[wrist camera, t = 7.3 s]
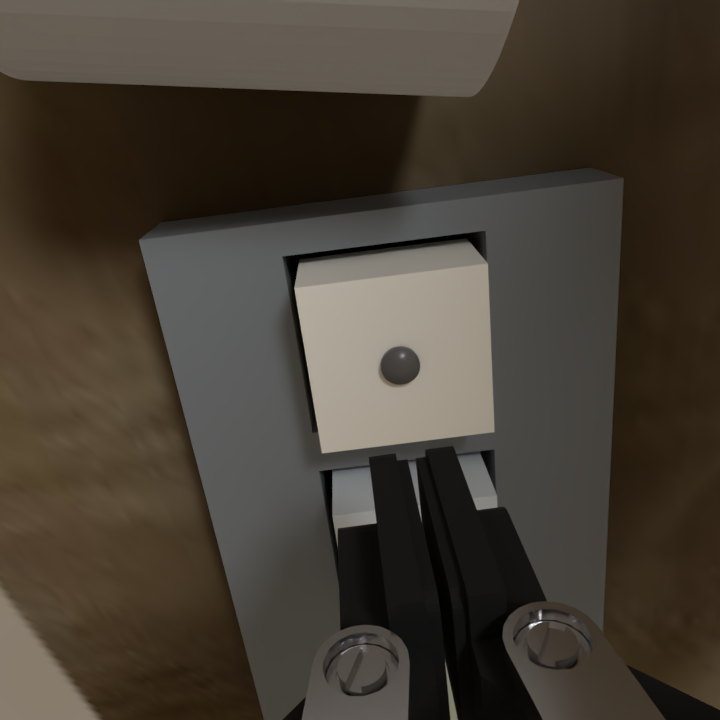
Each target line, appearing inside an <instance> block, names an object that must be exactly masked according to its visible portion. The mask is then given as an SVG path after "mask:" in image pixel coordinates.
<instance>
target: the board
mask: <svg viewBox="0 0 720 720" xmlns="http://www.w3.org/2000/svg"><path fill="white" fill-rule="evenodd" d="M623 185H624V178H622V177H619V176H616V175H613V174H610V173H607V172H604V171H601V170H598V169H595V168H592V167H589V168H581V169H574V170H566V171H558V172H550V173H542V174H535V175H527V176H519V177H511V178H503V179H496V180H488V181H480V182H472V183H464V184H457V185H449V186H441V187H433V188H425V189H418V190H410V191H402V192H394V193H386V194H379V195H371V196H363V197H355V198H347V199H340V200H332V201H324V202H316V203H308V204H301V205H293V206H285V207H277V208H269V209H262V210H254V211H246V212H238V213H230V214H223V215H215V216H207V217H199V218H191V219H183V220H176V221H168V222H160V223H159V224H158V225H156V226H155V227H154V228H153V229H152V230H150V231H149V232H148V233H147V234H146V235H144V236H143V237H142V238H141V239H140V240H139V244H140V247H141V251H142V255H143V259H144V263H145V267H146V270H147V274H148V278H149V282H150V286H151V290H152V293H153V297H154V301H155V305H156V309H157V313H158V316H159V320H160V324H161V328H162V332H163V335H164V339H165V343H166V347H167V351H168V355H169V358H170V362H171V366H172V370H173V374H174V378H175V381H176V385H177V389H178V393H179V397H180V401H181V404H182V408H183V412H184V416H185V420H186V423H187V427H188V431H189V435H190V439H191V443H192V446H193V450H194V454H195V458H196V462H197V466H198V469H199V473H200V477H201V481H202V485H203V489H204V492H205V496H206V500H207V504H208V508H209V511H210V515H211V519H212V523H213V527H214V531H215V534H216V538H217V542H218V546H219V550H220V554H221V557H222V561H223V565H224V569H225V573H226V577H227V580H228V584H229V588H230V592H231V596H232V600H233V603H234V607H235V611H236V615H237V619H238V622H239V626H240V630H241V634H242V638H243V642H244V645H245V649H246V653H247V657H248V661H249V665H250V668H251V672H252V676H253V680H254V684H255V688H256V691H257V695H258V699H259V703H260V707H261V710H262V714H263V718H264V720H283V719H284V718H285V717H286V716H287V715H288V714H289V713H290V712H291V711H292V710H293V709H294V708H295V707H296V706H297V705H298V704H299V703H300V702H301V701H302V700H303V699H304V698H305V697H306V695H307V690H308V685H309V680H310V675H311V670H312V665H313V661H314V659H315V656H316V653H317V651H318V650H319V648H320V647H321V646H322V645H323V643H324V642H325V641H326V640H327V639H328V638H330V637H331V636H333V635H334V634H335V633H337V632H339V631H340V601H339V567H338V546H337V540H336V535H335V529H334V523H333V517H332V501H331V495H330V489H329V483H328V477H327V471H326V470H332V469H340V468H348V467H356V466H364V465H370V464H369V457H371V456H378V455H386V454H394V453H396V457H397V460H404V459H407V460H412V459H416V458H420V457H425V450H426V449H432V448H439V447H447V446H453V447H454V449H455V451H456V454H461V453H469V452H477V451H481V456H482V459H483V461H484V464H485V466H486V469H487V471H488V474H489V477H490V479H491V482H492V484H493V487H494V489H495V492H496V494H497V507H505V508H506V509H507V511H508V513H509V515H510V517H511V520H512V522H513V524H514V527H515V529H516V531H517V533H518V536H519V538H520V540H521V543H522V545H523V547H524V549H525V552H526V554H527V556H528V559H529V561H530V563H531V565H532V568H533V570H534V572H535V575H536V577H537V579H538V581H539V584H540V586H541V588H542V591H543V593H544V595H545V597H546V600H547V601H548V602H558V603H562V604H565V605H568V606H571V607H574V608H576V609H578V610H579V611H581V612H583V613H584V614H586V615H588V616H589V617H590V618H591V620H592V621H593V622H594V623H595V624H596V625H597V626H598V627H599V628H600V630H601V631H602V633H603V620H604V598H605V576H606V555H607V533H608V511H609V489H610V468H611V446H612V424H613V403H614V381H615V359H616V337H617V316H618V294H619V272H620V251H621V229H622V207H623ZM463 233H470V243H471V244H472V245H473V247H474V248H475V249H476V250H477V251H478V252H479V254H480V255H481V256H482V257H483V258H484V260H485V261H486V262H487V263H488V278H489V304H490V329H491V355H492V380H493V406H494V431H495V432H492V433H484V434H475V435H467V436H459V437H451V438H443V439H435V440H427V441H419V442H411V443H403V444H395V445H387V446H379V447H371V448H362V449H354V450H346V451H338V452H330V453H322V451H321V445H320V439H319V433H318V427H317V421H316V415H315V409H314V403H313V397H312V391H311V385H310V379H309V373H308V367H307V361H306V355H305V349H304V343H303V337H302V331H301V325H300V319H299V313H298V307H297V301H296V295H295V289H294V287H295V279H294V273H293V267H292V261H291V255H298V254H306V253H314V252H322V251H330V250H337V249H345V248H353V247H361V246H369V245H377V244H385V243H392V242H400V241H408V240H416V239H424V238H432V237H440V236H447V235H455V234H463Z"/></svg>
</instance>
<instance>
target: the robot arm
mask: <svg viewBox="0 0 720 720" xmlns="http://www.w3.org/2000/svg"><path fill="white" fill-rule="evenodd" d="M369 464H370V473H371V481H372V489H373V497H374V506H375V514H376V522H377V523H375V524H367V525H359V526H352V527H344V528H338V567H339V601H340V631H339V632H337V633H335V634H334V635H333V636H331V637H330V638H328V639H327V640H326V641H325V642H324V643H323V645H322V646H321V647H320V648H319V650H318V651H317V653H316V656H315V659H314V661H313V665H312V670H311V675H310V680H309V685H308V690H307V695H306V697H305V698H304V699H303V700H302V701H301V702H300V703H299V704H298V705H297V706H296V707H295V708H294V709H293V710H292V711H291V712H290V713H289V714H288V715H287V716H286V717H285V718H284V719H283V720H450V709H449V698H448V687H447V677H446V666H447V671H448V676H449V681H450V685H451V690H452V695H453V699H454V704H455V709H456V713H457V718H458V720H720V710H718V709H716V708H714V707H712V706H710V705H708V704H706V703H704V702H702V701H700V700H698V699H696V698H694V697H692V696H690V695H687V694H685V693H683V692H681V691H679V690H677V689H675V688H673V687H671V686H669V685H667V684H665V683H663V682H661V681H659V680H657V679H655V678H652V677H650V676H648V675H646V674H644V673H642V672H640V671H638V670H636V669H634V668H632V667H630V666H628V665H626V664H625V663H624V662H623V660H622V659H621V657H620V656H619V655H618V653H617V652H616V651H615V649H614V648H613V646H612V645H611V644H610V642H609V641H608V639H607V638H606V637H605V635H604V634H603V633H602V631H601V630H600V628H599V627H598V626H597V625H596V624H595V623H594V622H593V621H592V620H591V618H590V617H589V616H588V615H586V614H584V613H583V612H581V611H579V610H578V609H576V608H574V607H571V606H568V605H565V604H562V603H558V602H548V601H547V600H546V597H545V595H544V593H543V591H542V588H541V586H540V584H539V581H538V579H537V577H536V575H535V572H534V570H533V568H532V565H531V563H530V561H529V559H528V556H527V554H526V552H525V549H524V547H523V545H522V543H521V540H520V538H519V536H518V533H517V531H516V529H515V527H514V524H513V522H512V520H511V517H510V515H509V513H508V511H507V509H506V508H505V507H497V508H489V509H482V510H477V509H476V506H475V503H474V501H473V498H472V495H471V493H470V490H469V487H468V484H467V482H466V479H465V476H464V473H463V471H462V468H461V465H460V462H459V460H458V457H457V454H456V451H455V449H454V447H453V446H447V447H439V448H432V449H426V450H425V457H420V458H416V468H417V478H418V488H419V498H420V508H421V517H420V512H419V508H418V503H417V499H416V494H415V490H414V486H413V481H412V477H411V472H410V468H409V464H408V460H407V459H404V460H397V457H396V453H394V454H386V455H378V456H371V457H369ZM421 518H422V521H421ZM445 662H446V666H445Z"/></svg>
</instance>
